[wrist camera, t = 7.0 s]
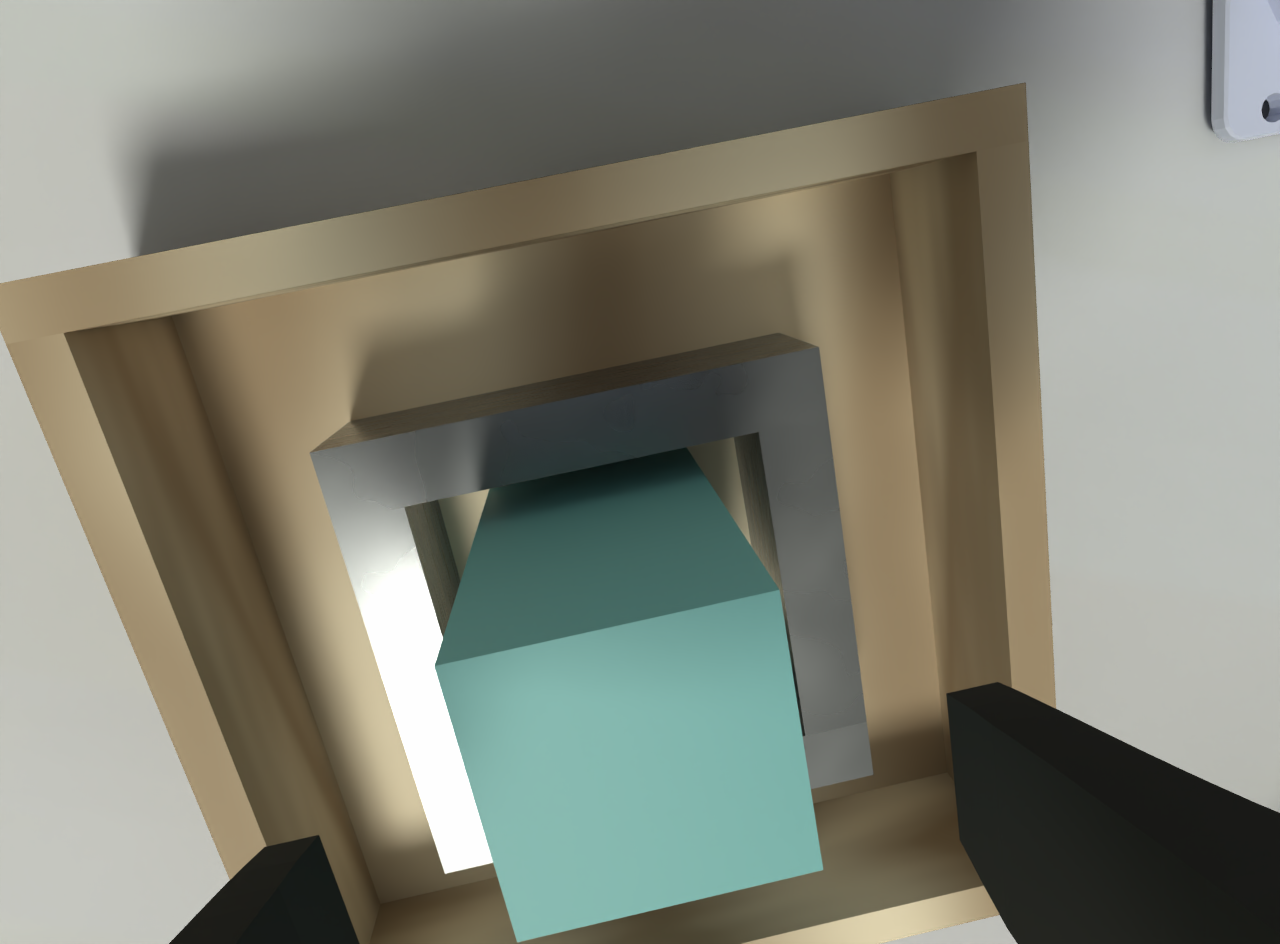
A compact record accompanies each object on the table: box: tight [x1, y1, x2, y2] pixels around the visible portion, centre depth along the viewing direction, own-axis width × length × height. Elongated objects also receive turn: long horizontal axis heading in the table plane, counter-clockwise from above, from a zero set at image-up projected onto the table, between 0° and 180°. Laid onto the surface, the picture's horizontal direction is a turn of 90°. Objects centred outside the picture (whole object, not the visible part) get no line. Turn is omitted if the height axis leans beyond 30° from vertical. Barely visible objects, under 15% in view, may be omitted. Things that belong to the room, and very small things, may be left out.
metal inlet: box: [310, 333, 873, 874], centre depth 15 cm, size 8×8×2 cm
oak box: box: [0, 83, 1056, 944], centre depth 15 cm, size 15×15×4 cm
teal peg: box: [434, 447, 823, 942], centre depth 13 cm, size 4×4×7 cm
